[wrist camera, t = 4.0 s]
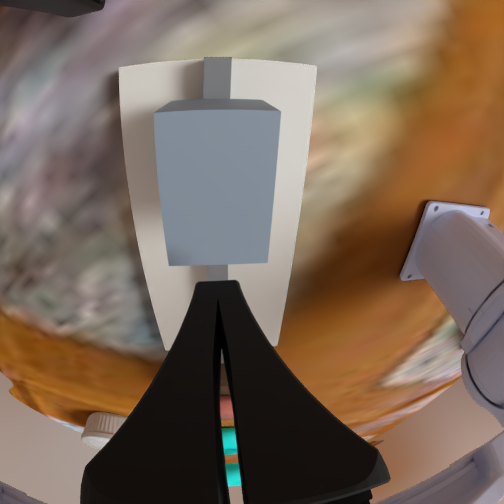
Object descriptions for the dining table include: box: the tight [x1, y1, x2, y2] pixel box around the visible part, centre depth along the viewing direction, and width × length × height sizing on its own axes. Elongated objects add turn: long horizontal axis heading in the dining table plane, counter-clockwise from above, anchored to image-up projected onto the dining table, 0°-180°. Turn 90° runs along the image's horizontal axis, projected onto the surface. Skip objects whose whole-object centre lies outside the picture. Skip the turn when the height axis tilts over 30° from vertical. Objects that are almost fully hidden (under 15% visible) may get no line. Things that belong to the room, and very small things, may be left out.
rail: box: [119, 57, 317, 364], centre depth 18 cm, size 10×22×3 cm, turn 177°
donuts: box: [222, 427, 241, 486], centre depth 39 cm, size 10×10×10 cm
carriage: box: [154, 99, 281, 266], centre depth 12 cm, size 4×6×5 cm, turn 177°
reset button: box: [220, 395, 234, 420], centre depth 25 cm, size 4×4×5 cm
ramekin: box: [81, 412, 128, 450], centre depth 36 cm, size 11×11×5 cm
